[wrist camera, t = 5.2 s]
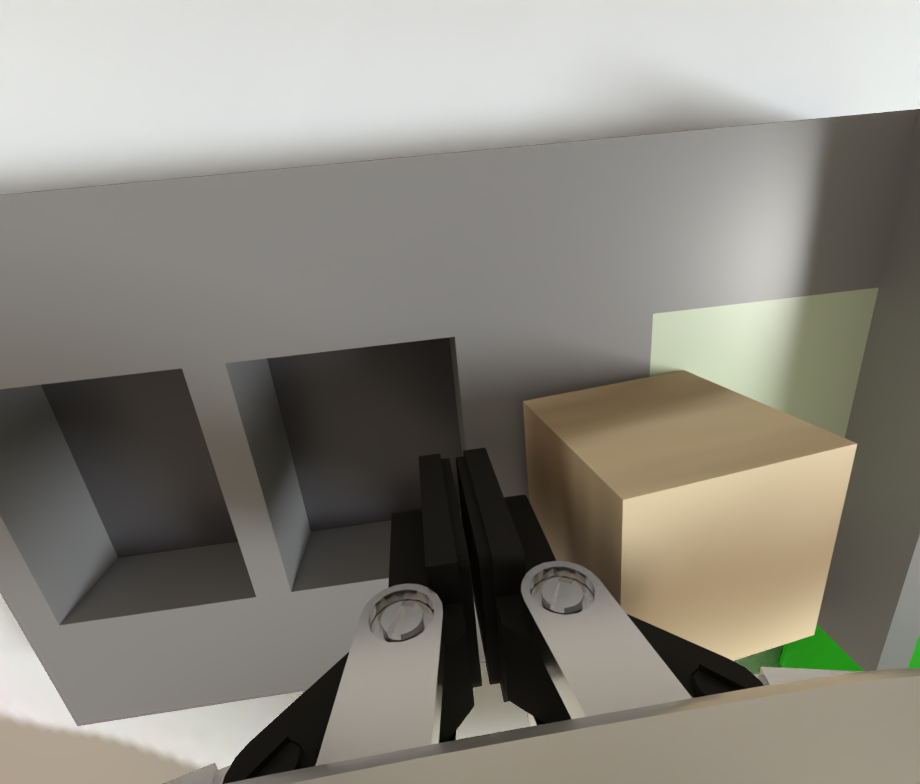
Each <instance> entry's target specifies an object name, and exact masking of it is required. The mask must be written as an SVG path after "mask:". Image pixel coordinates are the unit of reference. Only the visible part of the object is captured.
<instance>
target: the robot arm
mask: <svg viewBox="0 0 920 784" xmlns="http://www.w3.org/2000/svg"><path fill="white" fill-rule="evenodd" d="M463 455H464V456H461V457H456V467H457V477H458V487H459V496H460V506H461V514H460V509H459V504H458V499H457V493H456V488H455V483H454V478H453V473H452V468H451V463H450V458H445V459H441V455H440V453H439V454H432V455H424V456H419V473H420V489H421V505H422V509H417V510H410V511H402V512H395V513H392V517H391V538H390V561H389V584H388V588H387V589H384V590H382V591H381V592H380V593H378V594H377V595H375V596H374V597H372V599H371V600H370V601H369V602H368V603H367V604H366V605H365V607H364V609H363V611H362V613H361V615H360V618H359V621H358V625H357V628H356V631H355V635H354V638H353V641H352V645H351V648H350V651H349V652H348V653H347V654H346V655H345V656H344V657H342V658H341V659H340V660H339V661H338V662H337V663H336V664H335V665H334V666H333V667H332V668H330V669H329V670H328V671H327V672H326V673H325V674H324V675H323V676H322V677H321V678H319V679H318V680H317V681H316V682H315V683H314V684H313V685H312V686H311V687H310V688H308V689H307V690H306V691H305V692H304V693H303V694H302V695H301V696H300V697H299V698H298V699H296V700H295V701H294V702H293V703H292V704H291V705H290V706H289V707H288V708H287V709H285V710H284V711H283V712H282V713H281V714H280V715H279V716H278V717H277V718H276V719H275V720H273V721H272V722H271V723H270V724H269V725H268V726H267V727H266V728H265V729H264V730H262V731H261V732H260V733H259V734H258V735H257V736H256V737H255V738H254V739H253V740H251V741H250V742H249V743H248V744H247V746H246V747H245V748H244V749H243V750H242V751H241V752H240V753H239V754H238V756H237V757H236V758H235V759H234V761H233V763H232V764H231V765H230V766H227V767H225V768H223V769H220V770H218V769H217V766H216V764H215V763H213V764H211V765H208V766H206V767H203V768H201V769H198V770H196V771H194V772H191V773H188V774H186V775H183V776H181V777H178V778H176V779H173V780H171V781H169V782H166V783H163V784H920V668H903V669H886V670H876V671H867V672H862V671H842V670H821V669H801V668H780V667H760V672H759V674H752V673H751V672H750V671H748V670H747V669H746V668H745V667H743V666H741V665H739V664H738V663H736V662H734V661H732V660H730V659H728V658H726V657H724V656H722V655H719V654H717V653H715V652H712V651H710V650H708V649H706V648H703V647H701V646H699V645H697V644H694V643H692V642H690V641H688V640H685V639H683V638H681V637H679V636H676V635H674V634H672V633H669V632H667V631H665V630H663V629H660V628H658V627H656V626H654V625H651V624H649V623H647V622H645V621H642V620H640V619H638V618H636V617H633V616H631V615H629V614H626V613H625V612H624V610H623V609H622V608H621V606H620V605H619V604H618V603H617V601H616V600H615V599H614V598H613V596H612V595H611V594H610V592H609V591H608V590H607V589H606V587H605V586H604V585H603V584H602V582H601V581H600V580H599V578H597V577H596V576H595V575H594V574H593V573H592V572H591V571H590V570H588V569H586V568H584V567H583V566H581V565H578V564H575V563H571V562H566V561H556V558H555V556H554V554H553V552H552V550H551V547H550V545H549V543H548V541H547V539H546V537H545V534H544V532H543V530H542V528H541V526H540V524H539V521H538V519H537V517H536V515H535V513H534V510H533V508H532V506H531V504H530V502H529V500H528V498H527V496H526V495H517V496H510V497H504V496H503V493H502V491H501V488H500V485H499V483H498V480H497V477H496V475H495V472H494V469H493V467H492V464H491V461H490V459H489V456H488V453H487V450H486V448H478V449H470V450H464V451H463ZM461 516H462V519H461ZM474 603H475V608H476V614H477V619H478V624H479V630H480V635H481V640H482V645H483V651H484V656H485V661H486V667H487V672H488V677H489V682H490V685H491V684H497V683H500V685H501V690H502V695H503V700H504V702H507V701H511V702H512V703H514V704H515V705H517V706H519V707H520V708H522V709H523V710H525V711H526V712H527V716H528V721H529V725H530V727H526V728H520V729H515V730H509V731H504V732H498V733H493V734H487V735H482V736H476V737H470V738H465V739H459V732H458V727H459V726H460V724H461V723H462V722H463V720H464V719H465V718H466V716H467V715H468V714H469V712H470V711H471V709H472V708H473V707H474V697H473V687H479V686H482V680H481V670H480V659H479V649H478V639H477V629H476V618H475V608H474Z"/></svg>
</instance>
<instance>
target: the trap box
mask: <svg viewBox="0 0 920 784" xmlns="http://www.w3.org/2000/svg"><path fill="white" fill-rule="evenodd" d="M683 370H685V371H687V372H690V373H692V374H694V375H697V376H699V377H701V378H704V379H706V380H708V381H711V382H713V383H716V384H718V385H720V386H723V387H725V388H727V389H730V390H732V391H734V392H737V393H739V394H742V395H744V396H746V397H749V398H751V399H753V400H756V401H758V402H760V403H763V404H765V405H768V406H770V407H772V408H775V409H777V410H779V411H782V412H784V413H786V414H789V415H791V416H794V417H796V418H798V419H801V420H803V421H805V422H808V423H810V424H812V425H815V426H817V427H820V428H822V429H824V430H827V431H829V432H831V433H834V434H836V435H838V436H841V437H843V438H845V439H848V440H850V441H853V442H855V443H857V448H856V452H855V457H854V461H853V465H852V470H851V474H850V479H849V483H848V488H847V492H846V496H845V501H844V505H843V510H842V514H841V518H840V523H839V527H838V532H837V536H836V541H835V545H834V549H833V554H832V558H831V563H830V567H829V572H828V576H827V580H826V585H825V589H824V594H823V598H822V603H821V607H820V611H819V616H818V620H817V625H818V626H819V627H820V628H821V629H822V630H823V631H824V632H825V633H826V634H827V635H828V636H829V637H830V638H831V639H832V640H833V641H834V642H835V643H836V644H837V645H838V646H839V647H840V648H841V649H842V650H843V651H844V652H845V653H846V654H847V655H848V656H849V657H850V658H851V659H852V660H853V661H854V662H855V663H856V664H857V665H858V666H859V667H860V668H861V669H862V670H863V671H864V672H867V671H876V670H886V669H903V668H908V666H909V663H910V660H911V658H912V655H913V652H914V649H915V646H916V643H917V640H918V638H919V635H920V109H915V110H904V111H893V112H883V113H872V114H861V115H851V116H840V117H829V118H819V119H808V120H797V121H787V122H776V123H765V124H754V125H744V126H733V127H722V128H712V129H701V130H690V131H680V132H669V133H658V134H648V135H637V136H626V137H615V138H605V139H594V140H583V141H573V142H562V143H551V144H541V145H530V146H519V147H509V148H498V149H487V150H476V151H466V152H455V153H444V154H434V155H423V156H412V157H402V158H391V159H380V160H370V161H359V162H348V163H337V164H327V165H316V166H305V167H295V168H284V169H273V170H263V171H252V172H241V173H231V174H220V175H209V176H199V177H188V178H177V179H166V180H156V181H145V182H134V183H124V184H113V185H102V186H92V187H81V188H70V189H60V190H49V191H38V192H27V193H17V194H6V195H0V593H1V594H2V596H3V598H4V600H5V601H6V603H7V605H8V607H9V608H10V610H11V612H12V613H13V615H14V617H15V619H16V620H17V622H18V624H19V626H20V627H21V629H22V631H23V632H24V634H25V636H26V638H27V639H28V641H29V643H30V645H31V646H32V648H33V650H34V651H35V653H36V655H37V657H38V658H39V660H40V662H41V664H42V665H43V667H44V669H45V671H46V672H47V674H48V676H49V677H50V679H51V681H52V683H53V684H54V686H55V688H56V690H57V691H58V693H59V695H60V696H61V698H62V700H63V702H64V703H65V705H66V707H67V709H68V710H69V712H70V714H71V715H72V717H73V719H74V721H75V722H76V724H77V726H81V725H87V724H94V723H100V722H106V721H113V720H119V719H126V718H132V717H138V716H145V715H151V714H158V713H164V712H171V711H177V710H183V709H190V708H196V707H203V706H209V705H215V704H222V703H228V702H235V701H241V700H247V699H254V698H260V697H267V696H273V695H279V694H286V693H292V692H299V691H305V690H307V689H308V688H310V687H311V686H312V685H313V684H314V683H315V682H316V681H317V680H318V679H319V678H321V677H322V676H323V675H324V674H325V673H326V672H327V671H328V670H329V669H330V668H332V667H333V666H334V665H335V664H336V663H337V662H338V661H339V660H340V659H341V658H342V657H344V656H345V655H346V654H347V653H348V652H349V651H350V648H351V645H352V641H353V638H354V635H355V631H356V628H357V625H358V621H359V618H360V615H361V613H362V611H363V609H364V607H365V605H366V604H367V603H368V602H369V601H370V600H371V599H372V597H374V596H375V595H377V594H378V593H380V592H381V591H382V590H384V589H387V588H388V584H389V561H390V538H391V517H392V513H395V512H402V511H410V510H417V509H422V505H421V489H420V473H419V456H424V455H432V454H439V453H440V455H441V459H445V458H450V463H451V468H452V473H453V478H454V483H455V488H456V493H457V499H458V504H459V509H460V514H461V506H460V496H459V487H458V477H457V467H456V457H461V456H464V455H463V451H464V450H470V449H478V448H486V450H487V453H488V456H489V459H490V461H491V464H492V467H493V469H494V472H495V475H496V477H497V480H498V483H499V485H500V488H501V491H502V493H503V496H504V497H510V496H517V495H526V496H527V498H528V500H529V491H528V475H527V459H526V443H525V428H524V412H523V401H526V400H532V399H537V398H542V397H547V396H552V395H558V394H563V393H568V392H573V391H578V390H584V389H589V388H594V387H599V386H604V385H610V384H615V383H620V382H625V381H631V380H636V379H641V378H646V377H651V376H657V375H662V374H667V373H672V372H677V371H683ZM461 519H462V516H461ZM474 608H475V603H474ZM475 618H476V629H477V639H478V649H479V659H480V663H485V662H486V661H485V656H484V651H483V645H482V640H481V635H480V630H479V624H478V619H477V614H476V608H475Z"/></svg>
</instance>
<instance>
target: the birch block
mask: <svg viewBox="0 0 920 784" xmlns="http://www.w3.org/2000/svg"><path fill="white" fill-rule="evenodd" d="M523 412H524V428H525V443H526V459H527V475H528V491H529V502H530V504H531V506H532V508H533V510H534V513H535V515H536V517H537V519H538V521H539V524H540V526H541V528H542V530H543V532H544V534H545V537H546V539H547V541H548V543H549V545H550V547H551V550H552V552H553V554H554V556H555V558H556V561H566V562H571V563H575V564H578V565H581V566H583V567H584V568H586V569H588V570H590V571H591V572H592V573H593V574H594V575H595V576H596V577H597V578H599V580H600V581H601V582H602V584H603V585H604V586H605V587H606V589H607V590H608V591H609V592H610V594H611V595H612V596H613V598H614V599H615V600H616V601H617V603H618V604H619V605H620V606H621V608H622V609H623V610H624V612H625V613H626V614H629V615H631V616H633V617H636V618H638V619H640V620H642V621H645V622H647V623H649V624H651V625H654V626H656V627H658V628H660V629H663V630H665V631H667V632H669V633H672V634H674V635H676V636H679V637H681V638H683V639H685V640H688V641H690V642H692V643H694V644H697V645H699V646H701V647H703V648H706V649H708V650H710V651H712V652H715V653H717V654H719V655H722V656H724V657H726V658H728V659H730V660H732V661H735V660H738V659H741V658H744V657H747V656H750V655H753V654H757V653H760V652H763V651H766V650H769V649H772V648H775V647H778V646H781V645H784V644H788V643H791V642H794V641H797V640H800V639H803V638H806V637H809V636H812V635H814V634H815V629H816V625H817V620H818V616H819V611H820V607H821V603H822V598H823V594H824V589H825V585H826V580H827V576H828V572H829V567H830V563H831V558H832V554H833V549H834V545H835V541H836V536H837V532H838V527H839V523H840V518H841V514H842V510H843V505H844V501H845V496H846V492H847V488H848V483H849V479H850V474H851V470H852V465H853V461H854V457H855V452H856V448H857V443H855V442H853V441H850V440H848V439H845V438H843V437H841V436H838V435H836V434H834V433H831V432H829V431H827V430H824V429H822V428H820V427H817V426H815V425H812V424H810V423H808V422H805V421H803V420H801V419H798V418H796V417H794V416H791V415H789V414H786V413H784V412H782V411H779V410H777V409H775V408H772V407H770V406H768V405H765V404H763V403H760V402H758V401H756V400H753V399H751V398H749V397H746V396H744V395H742V394H739V393H737V392H734V391H732V390H730V389H727V388H725V387H723V386H720V385H718V384H716V383H713V382H711V381H708V380H706V379H704V378H701V377H699V376H697V375H694V374H692V373H690V372H687V371H685V370H683V371H677V372H672V373H667V374H662V375H657V376H651V377H646V378H641V379H636V380H631V381H625V382H620V383H615V384H610V385H604V386H599V387H594V388H589V389H584V390H578V391H573V392H568V393H563V394H558V395H552V396H547V397H542V398H537V399H532V400H526V401H523Z"/></svg>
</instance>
